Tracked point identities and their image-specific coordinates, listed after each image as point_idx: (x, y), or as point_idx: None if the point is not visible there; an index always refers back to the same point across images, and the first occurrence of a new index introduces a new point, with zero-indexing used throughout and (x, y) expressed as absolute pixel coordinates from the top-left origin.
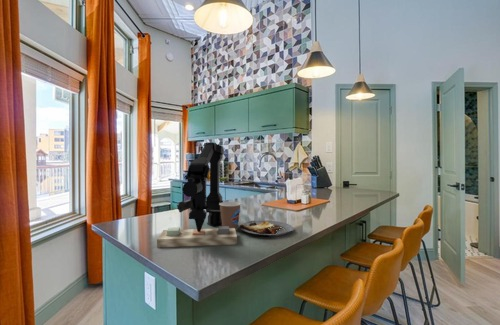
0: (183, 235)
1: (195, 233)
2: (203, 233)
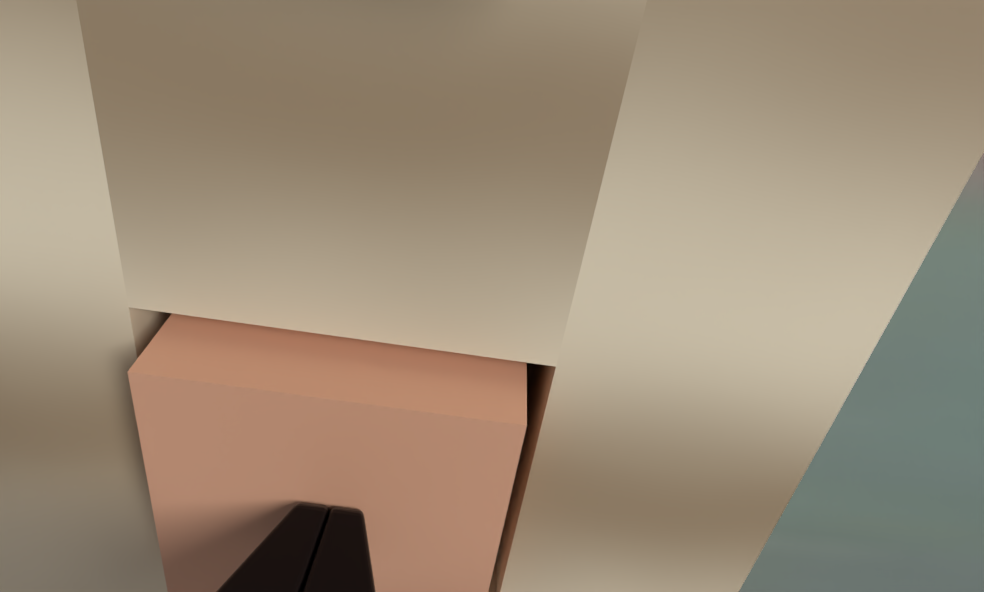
0: (102, 9)
1: (147, 430)
2: (176, 582)
